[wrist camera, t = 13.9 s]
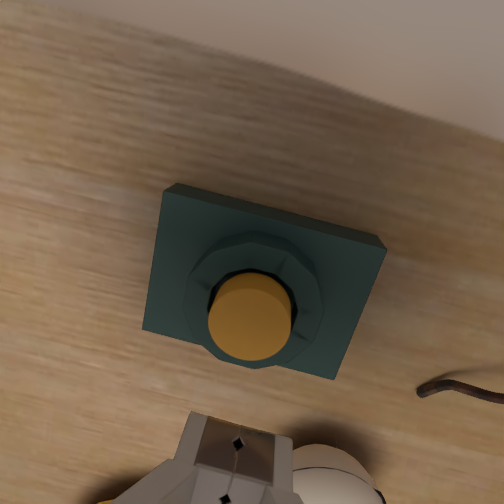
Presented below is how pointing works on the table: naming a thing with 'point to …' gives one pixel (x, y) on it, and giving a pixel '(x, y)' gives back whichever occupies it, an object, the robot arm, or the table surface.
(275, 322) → the button
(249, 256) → the button box
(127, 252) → the table surface
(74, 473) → the table surface
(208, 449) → the robot arm
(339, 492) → the white sphere
